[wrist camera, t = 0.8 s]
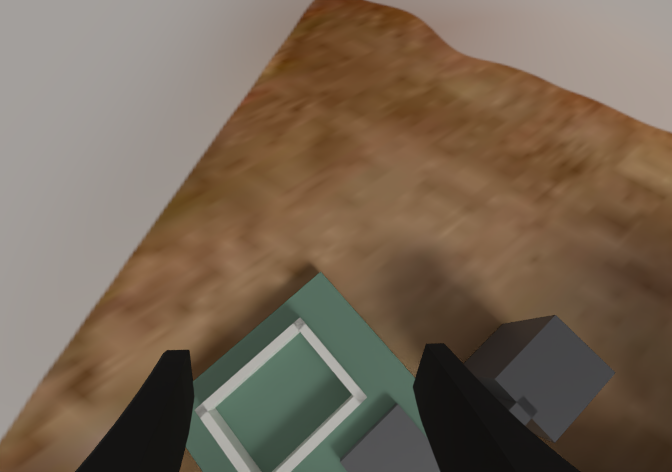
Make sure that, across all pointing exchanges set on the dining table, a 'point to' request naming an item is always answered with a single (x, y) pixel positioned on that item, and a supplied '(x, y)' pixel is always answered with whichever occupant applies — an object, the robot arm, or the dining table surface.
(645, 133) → the dining table surface
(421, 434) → the board
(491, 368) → the plug
